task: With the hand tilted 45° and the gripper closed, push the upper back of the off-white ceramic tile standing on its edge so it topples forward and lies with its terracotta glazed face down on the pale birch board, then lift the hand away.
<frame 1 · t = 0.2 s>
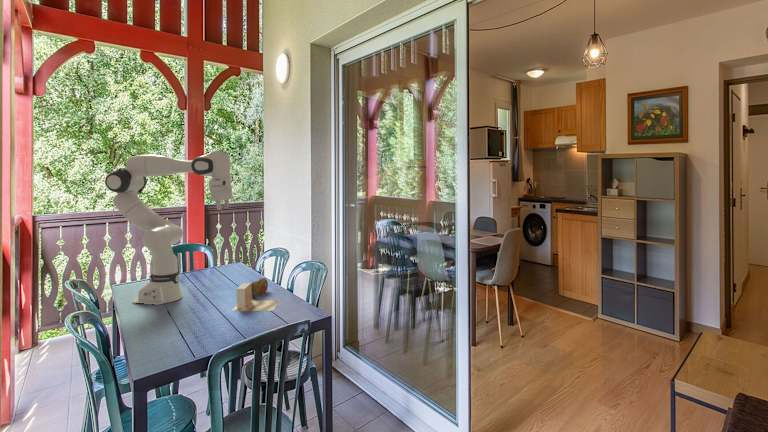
hand: (222, 209, 193), 48 cm above the table, tool pointing down, fingers open, 8 cm apart
tin: (259, 295, 206), on the table
tile: (244, 305, 188), resting on board
board: (256, 306, 187), on the table
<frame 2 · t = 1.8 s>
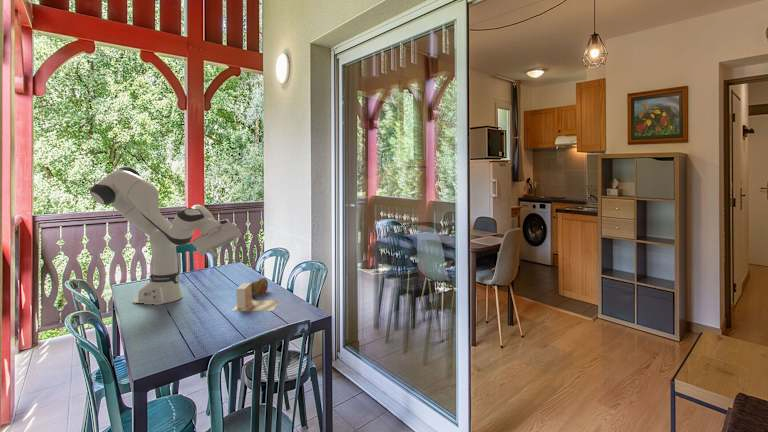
hand: (226, 250, 172), 31 cm above the table, tool tilted 55°, fingers open, 8 cm apart
nothing on the table moved.
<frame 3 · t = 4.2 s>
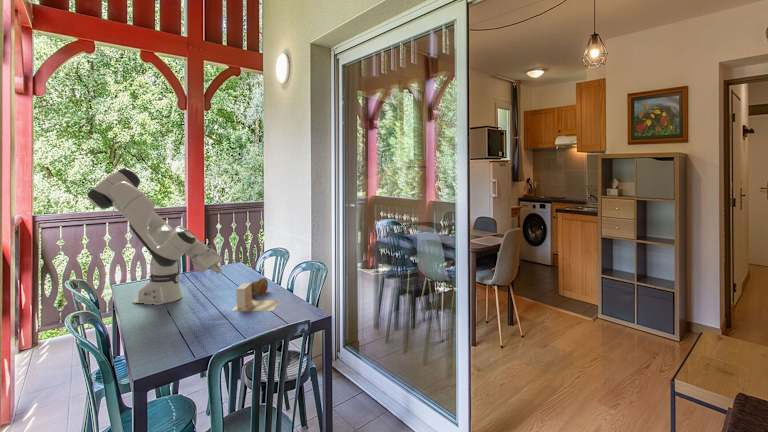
hand: (220, 272, 185), 17 cm above the table, tool tilted 45°, fingers closed
nothing on the table moved.
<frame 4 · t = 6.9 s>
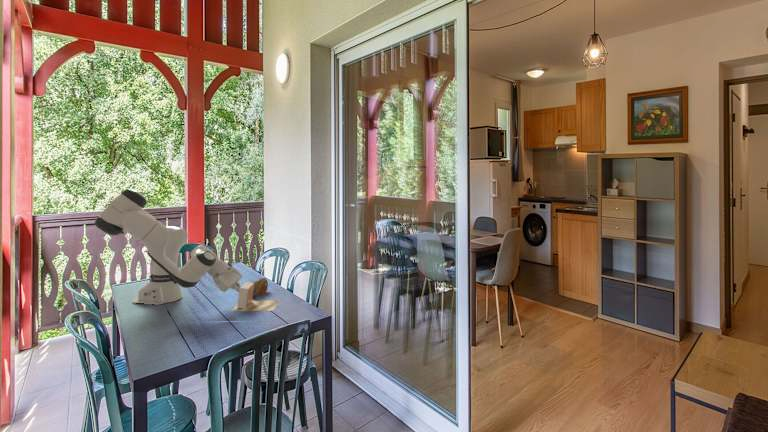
hand: (240, 290, 186), 8 cm above the table, tool tilted 45°, fingers closed
tile: (244, 304, 187), point 1 cm above the table, tilted 9°, touching board, gripper
everything else where it was.
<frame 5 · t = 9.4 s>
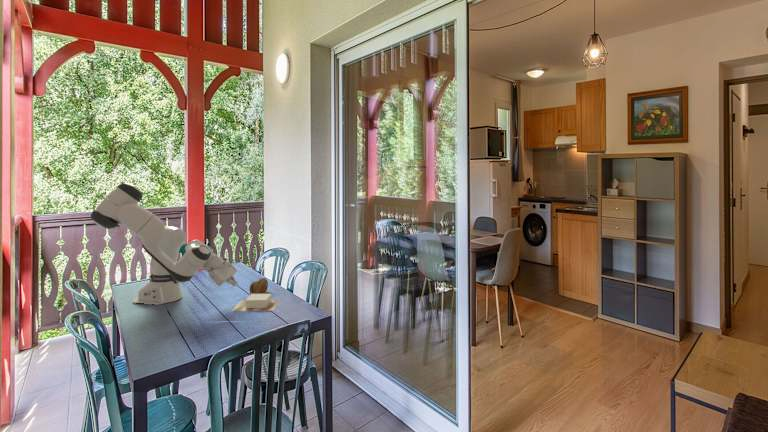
hand: (236, 284, 187), 11 cm above the table, tool tilted 45°, fingers closed
tile: (248, 300, 187), point 3 cm above the table, tilted 90°, touching board
everything else where it was.
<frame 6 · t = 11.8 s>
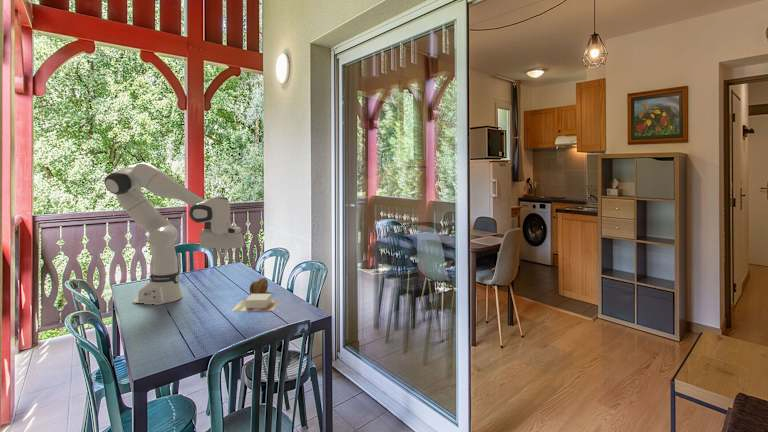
hand: (222, 256, 184), 25 cm above the table, tool pointing down, fingers closed
nothing on the table moved.
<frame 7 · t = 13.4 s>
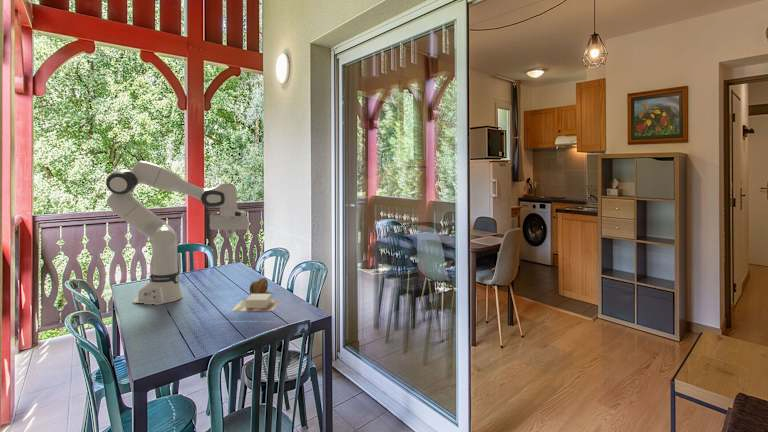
hand: (229, 237, 205), 31 cm above the table, tool pointing down, fingers closed
nothing on the table moved.
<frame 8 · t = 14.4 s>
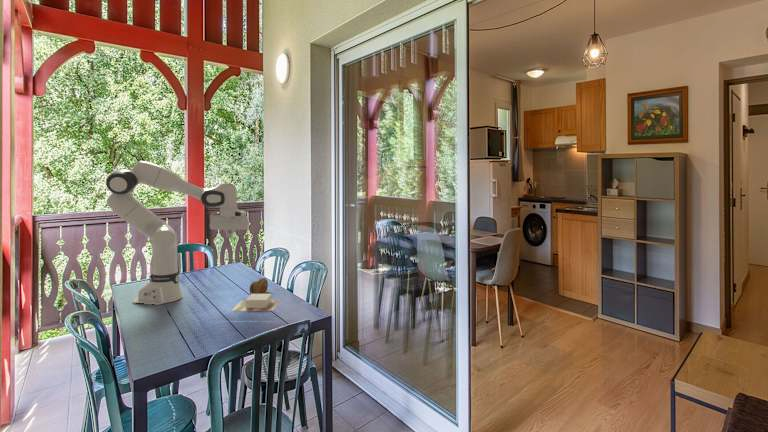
hand: (229, 237, 205), 31 cm above the table, tool pointing down, fingers closed
nothing on the table moved.
at the end: tile tilted 90°; tile inside the target area (1.8 cm from its centre), point 2.7 cm above the table; tile touching board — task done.
